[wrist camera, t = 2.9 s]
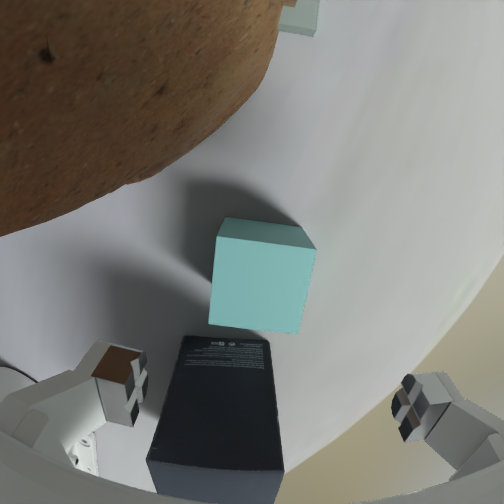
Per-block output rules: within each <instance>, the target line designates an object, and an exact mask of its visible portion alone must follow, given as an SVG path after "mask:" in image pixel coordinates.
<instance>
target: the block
mask: <svg viewBox="0 0 504 504" xmlns="http://www.w3.org/2000/svg"><path fill="white" fill-rule="evenodd" d="M283 4H284V0H0V237H2V236H4V235H7V234H10V233H13V232H16V231H19V230H22V229H25V228H29V227H32V226H35V225H38V224H41V223H44V222H47V221H49V220H52V219H54V218H57V217H59V216H62V215H64V214H67V213H69V212H71V211H74V210H76V209H78V208H80V207H81V206H83V205H85V204H87V203H89V202H91V201H94V200H96V199H98V198H100V197H103V196H104V195H106V194H108V193H112V192H113V191H115V190H117V189H118V188H120V187H121V186H123V185H125V184H131V183H136V182H140V181H142V180H145V179H147V178H150V177H152V176H154V175H156V174H157V173H159V172H161V171H162V170H163V169H164V168H165V167H166V166H169V165H170V164H172V163H173V162H175V161H176V160H178V159H179V158H180V157H182V156H183V155H185V154H186V153H188V152H189V151H190V150H192V149H193V148H194V147H196V146H197V145H198V144H199V143H201V142H202V141H203V140H204V139H206V138H207V137H208V136H210V135H211V134H212V133H213V132H214V131H216V130H217V129H218V128H219V127H220V126H221V125H222V124H223V123H224V122H226V121H227V120H228V119H229V118H230V117H231V116H232V115H233V114H234V113H235V112H236V111H237V110H238V109H239V108H240V107H241V106H242V105H243V104H244V103H245V102H246V101H247V100H248V98H249V97H250V96H251V95H252V94H253V93H254V91H255V90H256V89H257V88H258V86H259V85H260V83H261V81H262V80H263V78H264V76H265V73H266V71H267V69H268V66H269V63H270V60H271V58H272V55H273V52H274V48H275V44H276V40H277V36H278V33H279V31H278V23H279V20H280V16H281V11H282V8H283Z"/></svg>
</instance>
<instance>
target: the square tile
mask: <svg viewBox="0 0 504 504" xmlns="http://www.w3.org/2000/svg"><path fill="white" fill-rule="evenodd" d="M318 10H319V0H297V3H296V6H295V7H289V6H283V8H282V11H281V16H280V20H279V23H278V31H284V32H290V33H296V34H302V35H307V36H312V37H313V36H314V34H315V32H316V30H317V20H318Z"/></svg>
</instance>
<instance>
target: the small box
mask: <svg viewBox="0 0 504 504" xmlns="http://www.w3.org/2000/svg"><path fill="white" fill-rule="evenodd" d="M146 463H147V465H148V468H149V471H150V474H151V477H152V480H153V483H154V485H155V488H156V491H157V493H158V494H162V495H167V496H172V497H177V498H182V499H188V500H194V501H200V502H207V503H215V504H274V501H275V498H276V496H277V493H278V491H279V488H280V484H281V482H282V479H283V475H284V472H285V471H284V463H283V455H282V446H281V437H280V428H279V418H278V409H277V400H276V392H275V384H274V375H273V367H272V358H271V350H270V343H269V342H268V341H257V340H256V341H254V340H236V339H222V338H207V337H193V336H184V337H183V338H182V342H181V347H180V351H179V355H178V359H177V361H176V365H175V368H174V371H173V375H172V377H171V381H170V384H169V388H168V391H167V394H166V398H165V401H164V405H163V408H162V412H161V415H160V419H159V421H158V425H157V428H156V431H155V434H154V437H153V441H152V443H151V447H150V450H149V452H148V454H147V457H146Z"/></svg>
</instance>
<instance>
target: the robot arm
mask: <svg viewBox="0 0 504 504" xmlns="http://www.w3.org/2000/svg"><path fill="white" fill-rule="evenodd" d="M146 362H147V360H146V353H145V352H144V351H142V350H138V349H134V348H130V347H126V346H122V345H118V344H113V343H110V342H106V341H102V340H98V341H96V342H95V343H94V344H93V345H92V347H91V348H90V350H89V351H88V352H87V354H86V355H85V356H84V358H83V359H82V360H81V362H80V363H79V365H78V366H77V367H76V369H75V370H74V371H72V370H68V371H66V372H63V373H61V374H58V375H56V376H53V377H51V378H48V379H46V380H43V381H41V382H38V383H35V382H33V381H32V380H31V379H29V378H28V377H26V376H24V375H23V374H21V373H19V372H17V371H15V370H13V369H10V368H6V367H0V504H215V503H207V502H200V501H194V500H188V499H182V498H177V497H172V496H167V495H162V494H158V493H153V492H149V491H145V490H141V489H137V488H134V487H130V486H127V485H123V484H120V483H117V482H113V481H110V480H107V479H104V478H101V477H99V473H98V464H97V454H96V442H95V435H94V433H93V431H94V430H96V429H97V428H99V427H100V426H102V425H103V424H104V423H106V421H109V422H113V423H117V424H121V425H125V426H129V427H133V426H134V424H135V421H136V419H137V416H138V414H139V407H138V404H140V403H141V402H143V401H144V398H145V396H146V392H147V387H148V373H147V371H146V370H145V369H144V366H145V364H146ZM401 384H402V388H401V389H400V390H399V391H398V392H396V394H395V396H394V398H393V400H392V406H391V409H392V414H393V417H394V419H395V420H397V421H398V422H400V425H399V428H398V429H399V431H400V433H401V436H402V438H403V441H404V442H412V441H419V440H425V442H426V443H427V444H428V445H429V446H430V447H432V448H433V449H434V450H435V451H436V452H437V453H438V454H439V455H440V456H441V457H443V458H444V459H445V460H446V461H447V462H448V463H449V464H450V465H451V466H452V467H454V468H455V469H456V470H457V472H456V473H455V474H454V475H453V476H451V478H450V479H449V481H448V482H446V483H442V484H439V485H436V486H433V487H429V488H426V489H422V490H418V491H414V492H410V493H406V494H401V495H397V496H392V497H387V498H382V499H376V500H371V501H364V502H357V503H349V504H504V420H502V419H500V418H498V417H497V416H495V415H493V414H492V413H490V412H488V411H487V410H485V409H483V408H482V407H480V406H478V405H476V404H475V403H473V402H471V401H470V400H465V399H464V398H463V396H462V395H461V393H460V392H459V390H458V389H457V388H456V386H455V385H454V383H453V382H452V380H451V379H450V377H449V376H448V375H447V373H445V372H444V371H438V372H431V373H414V374H407V375H406V376H405V377H404V379H403V380H402V382H401Z"/></svg>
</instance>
